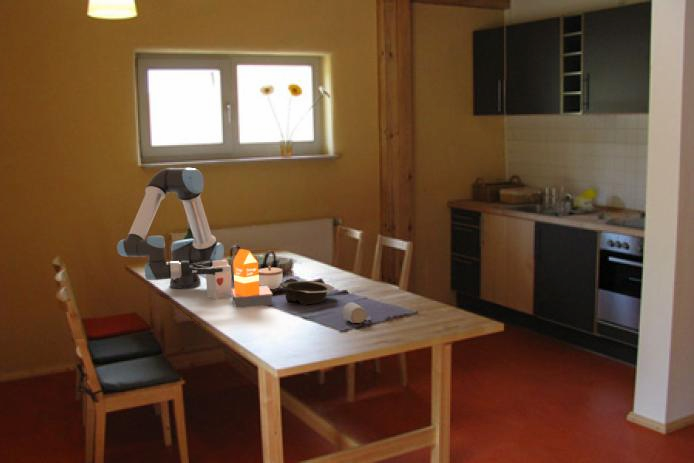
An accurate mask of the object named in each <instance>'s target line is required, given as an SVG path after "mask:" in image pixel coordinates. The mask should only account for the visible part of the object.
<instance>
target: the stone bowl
mask: <svg viewBox="0 0 694 463" xmlns="http://www.w3.org/2000/svg"><path fill="white" fill-rule="evenodd" d="M280 286H281V287H282V289H284V290H286V292H285V300H286V301H287V302H299V303H300V304H301V305H306V306H307V305H310V304H311V305H315V304H317V303H323V302H322V301H324V300H325V298H326V296H327V293H329V292H332V291H333V290H335V287H334V286H332V285H330V284H328V283H324V282H320V281H313V280H307V281H306V280H304V281H303V280H301V281H300V280H297V279H295V278H287V279H286V280H284V281H283V282H281V283H280Z"/></svg>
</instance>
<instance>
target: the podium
mask: <svg viewBox="0 0 694 463" xmlns="http://www.w3.org/2000/svg"><path fill="white" fill-rule="evenodd" d="M231 291H232V301H233V303H234V305H235V308H237V309H238V308H246V307H247V308H248V307H258V306H261V307H262V306H268V305H269V306H270V305H273V302H272V301H273V300H272V296H273V295H274V294H273V292H272V290H270V289H269V288H268V286H260V285H259V294H255V295H250V296H242V295H239V294H236V293H235V287H234V288H232V289H231Z"/></svg>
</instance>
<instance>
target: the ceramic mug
mask: <svg viewBox="0 0 694 463" xmlns="http://www.w3.org/2000/svg"><path fill="white" fill-rule="evenodd" d="M342 317H343V318H344V319H345V321H349V322H350V323H352V324H354V323H360V324H362V323H363V322H364V321H368V320H370V321H371V318H372V317H371V316H369V315H367V312H366V310H365V308H363V307H362V306H360V305H359V304H357V303H356V302H353V301H350V302H347V303H346V304H345V305H344V307H343V308H342ZM361 322H362V323H361ZM368 322H369V321H368Z"/></svg>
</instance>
